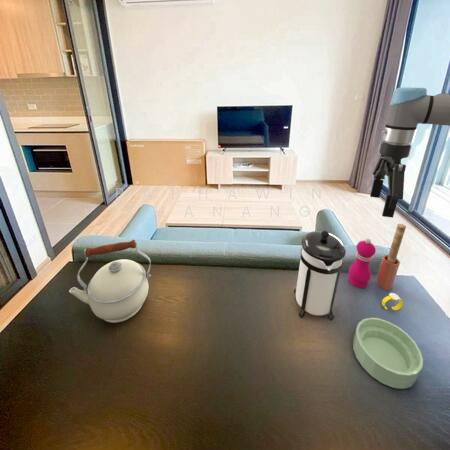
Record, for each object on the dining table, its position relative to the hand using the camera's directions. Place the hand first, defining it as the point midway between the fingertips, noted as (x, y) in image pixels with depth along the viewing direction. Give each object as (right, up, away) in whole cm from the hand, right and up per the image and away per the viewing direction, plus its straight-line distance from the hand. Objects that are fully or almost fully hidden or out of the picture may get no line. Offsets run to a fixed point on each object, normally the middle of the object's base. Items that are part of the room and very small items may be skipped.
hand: (380, 206), depth 80 cm
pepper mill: (0, -32, +14) cm, 35 cm away
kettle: (-88, -35, +4) cm, 95 cm away
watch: (+5, -36, +3) cm, 36 cm away
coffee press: (-21, -35, +6) cm, 41 cm away
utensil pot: (+9, -32, +13) cm, 36 cm away
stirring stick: (+9, -31, +13) cm, 35 cm away
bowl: (-7, -41, -11) cm, 43 cm away
